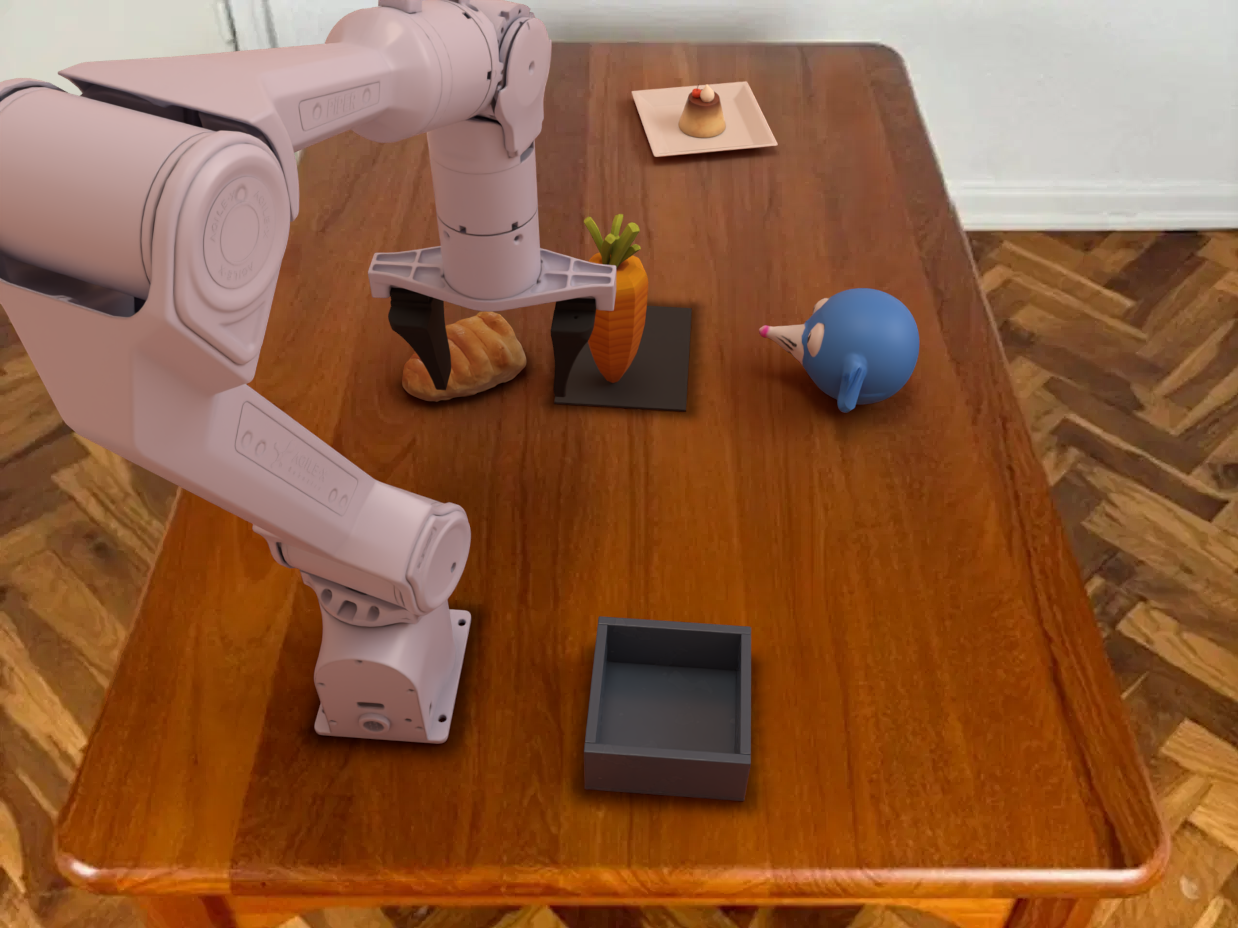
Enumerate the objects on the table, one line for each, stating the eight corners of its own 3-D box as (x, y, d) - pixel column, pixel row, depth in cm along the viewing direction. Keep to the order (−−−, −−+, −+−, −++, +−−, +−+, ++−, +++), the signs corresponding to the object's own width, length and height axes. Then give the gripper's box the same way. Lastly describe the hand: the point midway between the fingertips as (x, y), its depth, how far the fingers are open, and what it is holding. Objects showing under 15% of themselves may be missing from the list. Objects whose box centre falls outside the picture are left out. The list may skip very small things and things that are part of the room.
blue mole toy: (764, 323, 97) (775, 238, 91) (912, 345, 96) (933, 261, 89) (741, 424, 89) (751, 339, 83) (902, 451, 88) (924, 366, 81)
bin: (744, 801, 69) (750, 764, 65) (584, 789, 69) (583, 751, 66) (745, 666, 75) (751, 626, 72) (598, 655, 75) (598, 615, 72)
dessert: (630, 101, 121) (631, 57, 117) (746, 91, 122) (750, 47, 119) (653, 166, 113) (655, 121, 109) (777, 155, 114) (782, 110, 111)
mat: (685, 411, 90) (686, 409, 90) (554, 403, 91) (554, 401, 91) (691, 309, 98) (691, 308, 98) (570, 303, 99) (570, 301, 99)
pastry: (432, 424, 89) (426, 386, 86) (385, 376, 93) (378, 339, 90) (534, 371, 93) (532, 334, 90) (485, 327, 97) (481, 290, 94)
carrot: (568, 377, 92) (563, 215, 81) (618, 351, 94) (620, 190, 84) (606, 413, 90) (606, 251, 79) (658, 386, 92) (665, 224, 81)
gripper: (621, 172, 69) (619, 348, 79) (375, 160, 70) (403, 335, 80) (611, 245, 65) (610, 423, 75) (347, 231, 65) (381, 409, 75)
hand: (502, 383), depth 77 cm, fingers open, 7 cm apart
